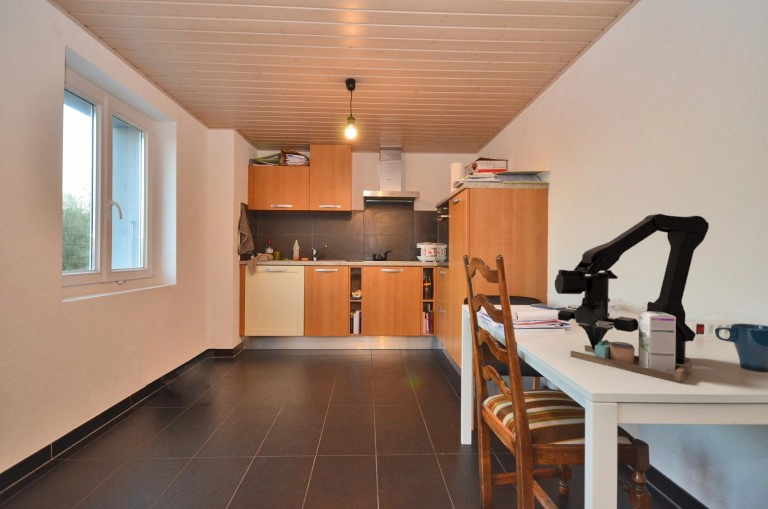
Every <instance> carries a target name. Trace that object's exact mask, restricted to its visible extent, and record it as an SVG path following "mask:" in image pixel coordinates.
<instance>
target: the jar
mask: <svg viewBox="0 0 768 509" xmlns="http://www.w3.org/2000/svg"><path fill="white" fill-rule="evenodd" d="M610 342H611V344H610V360H615V361H619V362H623V363H628V364H632V365H635V362H634V355H635V349H636V348H635V346H634V345H633V344H631V343H628V342H625V341H624V342H622V341H610Z"/></svg>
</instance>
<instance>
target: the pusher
mask: <svg viewBox="0 0 768 509" xmlns="http://www.w3.org/2000/svg"><path fill="white" fill-rule="evenodd" d="M611 342H612V341H609V339H603V340H602V341H601V342H599V343H598V345H595V353H594V356H597V357H602V358H606V359H610V344H611Z"/></svg>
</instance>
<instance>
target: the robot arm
mask: <svg viewBox="0 0 768 509" xmlns="http://www.w3.org/2000/svg"><path fill="white" fill-rule="evenodd" d="M709 228H710V225H709V222H708V221H707V220H706V219H705V218H704V217H703V216H700V215H688V216H677V215H676V216H675V215H670V214H669V215H667V214H663V213H656V214H649V215H646V216H645V217H644V218H643V219H642V220H640V221H639V222H638V223H636V224H634V225H633V226H631V227H630V228H629V229H627V230H625V231H624V232H622V233H621V234H619V235H617V236H616V237H615V238H613V239H611V240H610V241H608V242H605V243H603V244H600V245H597V246H595V247H593V248H590V249H587V250H586V251H584V253H582V255H581V256H582V257H581V260H580V262H578V264H577V265H576V266H575V268H574V269H573V270H571V269H570V270H566V269H558V274H557V275H556V276H555V280H554V290H555V291H556V293H557V294H558V295H582V294H583V293H584V297H582V300H581V304H580V305H579V306H578V307H577V308H576V309H571V308H565V309H562V310H561V309H560V310H559V311H558V313H557V320H558V321H563V322H569V321H571V320H575V323H577V326H578V327H581V328H582V329H583V330H584V332H585V333H586V336H587V337H588V338H587V339H588V340H589V343H590V346H592V349H593V350H595V345H598V343H599V342H602V341H603V340H604V337H605V335H606V334H607V333H608V331H610V330H613V329H615V330H616V331H621V332H627V333H632V332H635V331H639V320H637V318H633V317H626V316H619V317H615V318H611V317H610V312H609V303H610V302H611V298H609V289H610V288H609V283H610V282H609V280H610V279H611V280H617V279H618V278H619V277H618V276H617V275H616V274H614V273H613V271H612V270H611V268H612V267H613V266H614V265H615V264H616V263H617V262H619V260H620V258H621V257H622V255H623V254H624V253H625V252H627V251H629V250H630V249H632V248H633V247H635V246H636V245H637V244H639V243H641V242H642V241H644V240H645V239H647V238H648V237H650V236H652V235H653V234H655V233H656V232H660V233H667V236H666V237H667V241H668V244H669V246H670V249H669V254H668V259H667V263H666V266H665V271H664V275H663V279H662V283H661V288H660V291H659V296H658V297H657V298H656V300H655V301H654V302H652V301H648V302H647V304H646V311H654V312H663V313H666V314H669V315H672V316H675V317H676V348H675V364H679V365H681V364H682V365H683V364H685V363H686V362H687V363H688V361H690V357H686V346H687V345H686V344H687V343H688V342H694V340H695V337H696V335H697V334H696V332H695V331H693V329H692V328H690V327H689V326H688V325H687V323H686V311H685V308H684V305H683V302H682V301H683V297H684V294H685V289H686V284H687V280H688V276H689V273H690V269H691V264H692V261H693V256H694V252H695V250H696V249H697V248H698V247H699V246H700V245H701V244H702V243H703V241H704V240H705V238H706V236H707V233H708V231H709Z"/></svg>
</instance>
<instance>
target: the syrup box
mask: <svg viewBox="0 0 768 509" xmlns="http://www.w3.org/2000/svg"><path fill="white" fill-rule="evenodd" d="M675 348H676V317H675V316H672V315H669V314H666V313H663V312H654V311H647V310H644V311H643V310H642V311H639V312H638V356H639V359H638V362H637V363H638V364H637V366H641V367H645V368H650V369H654V370H658V371H663V372H667V373H671V374H675V364H676V362H675Z"/></svg>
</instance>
